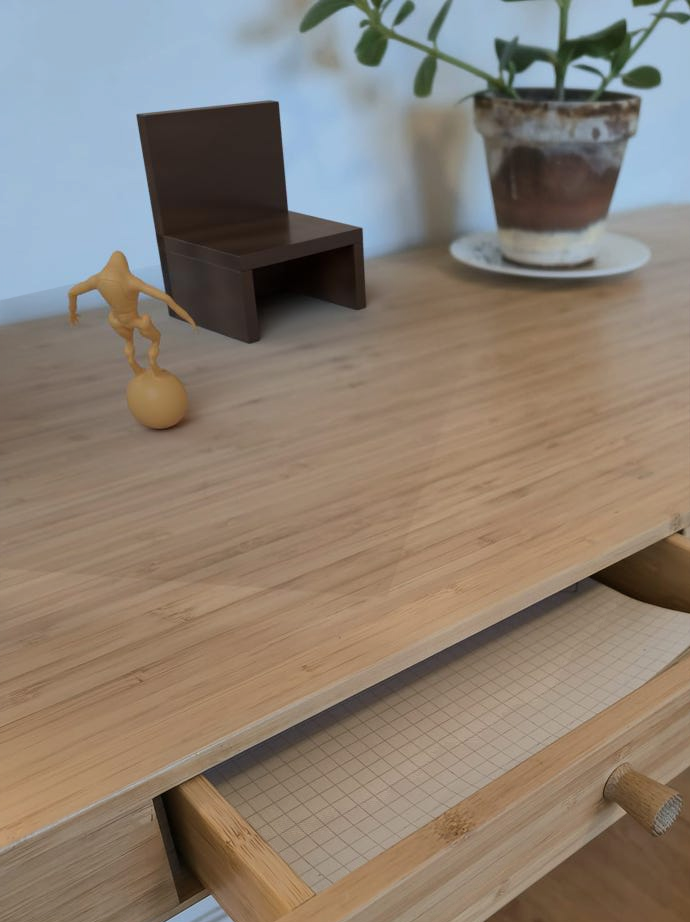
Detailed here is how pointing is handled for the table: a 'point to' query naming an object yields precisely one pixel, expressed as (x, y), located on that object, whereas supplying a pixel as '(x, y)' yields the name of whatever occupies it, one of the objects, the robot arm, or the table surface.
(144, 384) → the figurine
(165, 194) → the wooden miniature chair
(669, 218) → the table surface
